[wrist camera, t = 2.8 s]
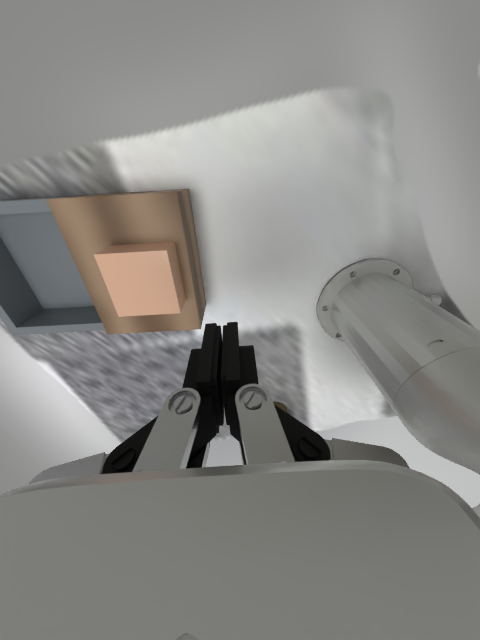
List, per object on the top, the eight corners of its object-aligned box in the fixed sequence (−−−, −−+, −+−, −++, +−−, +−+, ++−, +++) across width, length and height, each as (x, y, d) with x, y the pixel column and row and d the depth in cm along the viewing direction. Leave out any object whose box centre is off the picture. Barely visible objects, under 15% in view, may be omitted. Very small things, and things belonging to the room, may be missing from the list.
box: (85, 195, 24) (54, 198, 19) (127, 309, 31) (111, 329, 27) (-26, 201, 24) (-82, 206, 20) (42, 313, 31) (13, 334, 27)
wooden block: (188, 189, 24) (176, 191, 19) (205, 304, 31) (200, 329, 26) (85, 195, 24) (45, 199, 19) (127, 309, 31) (107, 334, 26)
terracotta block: (174, 241, 21) (166, 250, 18) (186, 299, 24) (180, 313, 21) (110, 245, 21) (93, 254, 18) (130, 302, 24) (118, 316, 21)
